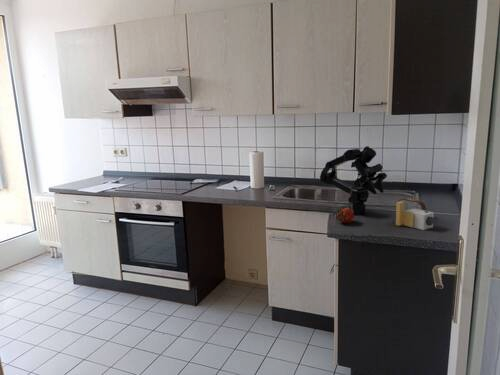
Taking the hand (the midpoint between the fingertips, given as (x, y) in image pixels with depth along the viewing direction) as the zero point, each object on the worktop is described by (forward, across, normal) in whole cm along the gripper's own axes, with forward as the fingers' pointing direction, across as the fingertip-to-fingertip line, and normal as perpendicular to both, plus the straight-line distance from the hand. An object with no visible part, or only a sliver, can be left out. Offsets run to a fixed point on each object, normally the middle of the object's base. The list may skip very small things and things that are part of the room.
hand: (379, 193), depth 192 cm
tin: (+12, +20, +7) cm, 24 cm away
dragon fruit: (+5, -16, +14) cm, 22 cm away
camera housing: (+23, +6, -4) cm, 24 cm away
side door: (+20, 0, -1) cm, 20 cm away
